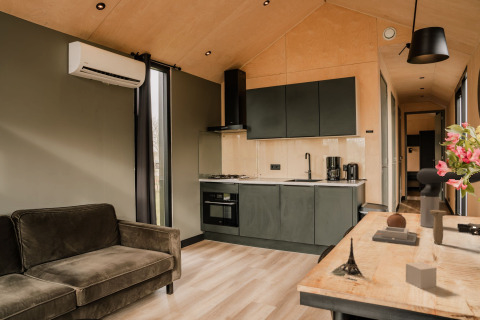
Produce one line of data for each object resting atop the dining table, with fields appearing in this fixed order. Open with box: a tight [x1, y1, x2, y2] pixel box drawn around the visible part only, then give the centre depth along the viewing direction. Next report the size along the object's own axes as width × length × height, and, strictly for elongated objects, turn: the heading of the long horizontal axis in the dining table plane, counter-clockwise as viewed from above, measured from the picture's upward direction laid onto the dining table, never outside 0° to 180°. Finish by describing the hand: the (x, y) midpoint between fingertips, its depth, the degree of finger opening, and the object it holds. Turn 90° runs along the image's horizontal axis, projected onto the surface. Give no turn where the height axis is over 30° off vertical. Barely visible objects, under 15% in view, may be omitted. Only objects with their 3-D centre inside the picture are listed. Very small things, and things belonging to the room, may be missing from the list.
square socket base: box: [371, 225, 418, 246], centre depth 162 cm, size 18×18×4 cm
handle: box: [430, 209, 448, 245], centre depth 153 cm, size 5×6×15 cm
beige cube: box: [405, 261, 438, 290], centre depth 105 cm, size 6×6×6 cm
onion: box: [386, 212, 407, 229], centre depth 178 cm, size 10×9×10 cm
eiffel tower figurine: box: [331, 237, 363, 281], centre depth 116 cm, size 15×10×13 cm
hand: (457, 227), depth 150 cm, fingers open, 8 cm apart
